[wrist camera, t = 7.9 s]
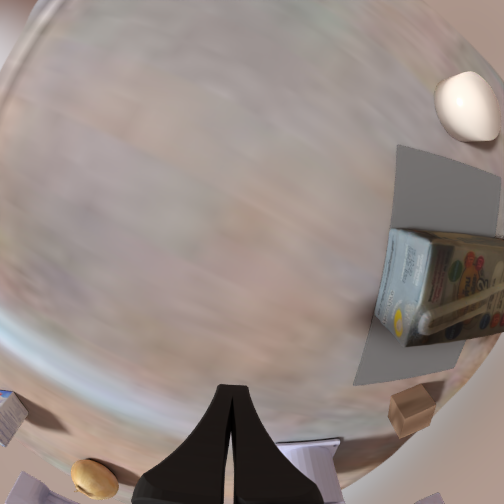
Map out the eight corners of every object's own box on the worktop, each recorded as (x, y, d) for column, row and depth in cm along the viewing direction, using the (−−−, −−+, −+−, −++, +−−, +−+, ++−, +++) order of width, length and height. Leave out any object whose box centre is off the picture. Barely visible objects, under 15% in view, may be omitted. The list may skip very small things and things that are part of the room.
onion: (123, 468, 29) (112, 503, 22) (120, 484, 31) (111, 514, 24) (76, 446, 28) (60, 478, 21) (78, 465, 30) (66, 493, 23)
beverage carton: (387, 219, 20) (437, 239, 13) (514, 238, 20) (555, 254, 14) (369, 314, 22) (405, 358, 15) (498, 304, 23) (533, 328, 16)
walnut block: (415, 404, 26) (429, 425, 22) (387, 416, 26) (399, 439, 22) (420, 383, 25) (436, 404, 21) (390, 395, 25) (404, 419, 21)
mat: (453, 367, 25) (453, 368, 24) (352, 384, 24) (353, 385, 24) (499, 177, 19) (501, 177, 19) (397, 144, 18) (398, 144, 18)
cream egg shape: (477, 148, 18) (502, 148, 15) (434, 132, 18) (459, 128, 15) (474, 92, 17) (497, 86, 13) (430, 70, 17) (453, 60, 13)
